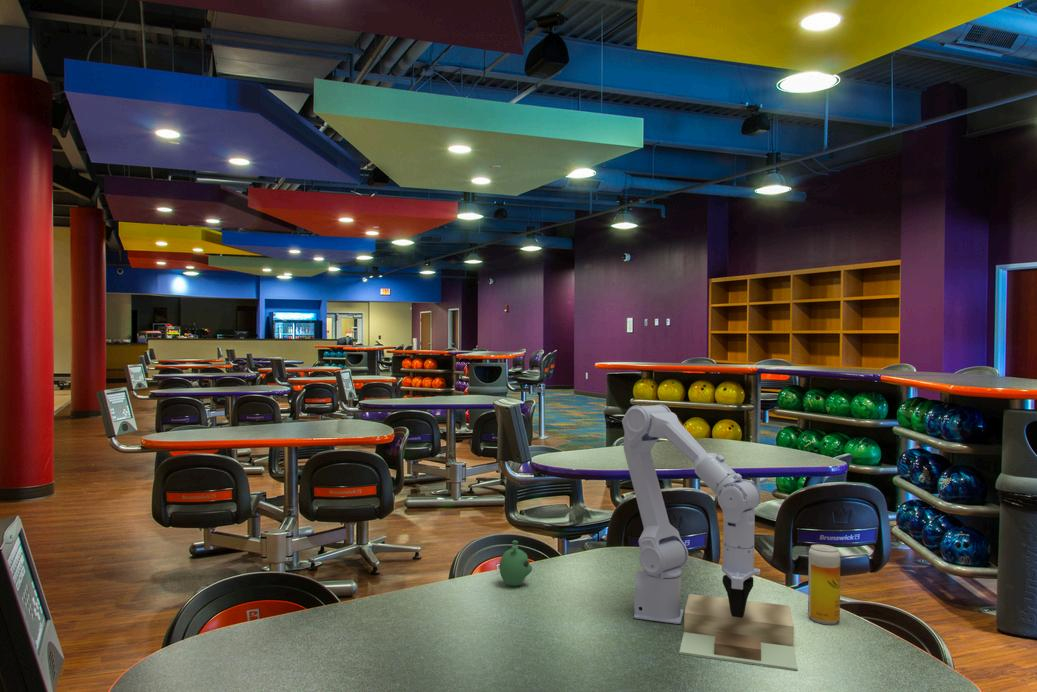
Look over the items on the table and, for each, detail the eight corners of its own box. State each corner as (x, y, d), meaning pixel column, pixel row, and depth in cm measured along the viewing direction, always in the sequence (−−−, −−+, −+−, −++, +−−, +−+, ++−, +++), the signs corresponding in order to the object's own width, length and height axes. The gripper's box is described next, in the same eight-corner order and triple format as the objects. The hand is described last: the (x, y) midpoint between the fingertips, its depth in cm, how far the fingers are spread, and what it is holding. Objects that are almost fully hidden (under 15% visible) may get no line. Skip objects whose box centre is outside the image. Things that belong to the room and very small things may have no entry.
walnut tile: (715, 631, 133) (715, 642, 133) (714, 643, 127) (714, 654, 127) (760, 637, 130) (760, 648, 130) (761, 649, 124) (761, 661, 124)
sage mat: (679, 654, 128) (679, 651, 128) (683, 634, 137) (683, 632, 137) (797, 671, 121) (797, 668, 121) (793, 648, 131) (793, 646, 131)
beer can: (843, 626, 143) (843, 552, 143) (811, 623, 144) (812, 550, 144) (835, 616, 149) (836, 545, 149) (805, 613, 150) (806, 543, 150)
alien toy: (532, 590, 162) (532, 546, 162) (498, 589, 162) (499, 546, 162) (531, 581, 169) (532, 539, 169) (499, 580, 169) (500, 538, 169)
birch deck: (684, 633, 138) (684, 612, 138) (688, 612, 149) (689, 593, 149) (793, 647, 131) (793, 626, 132) (789, 625, 143) (789, 605, 143)
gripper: (760, 556, 127) (759, 632, 126) (760, 538, 140) (759, 606, 140) (720, 552, 129) (719, 627, 129) (723, 534, 143) (722, 601, 142)
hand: (737, 616), depth 135 cm, fingers closed
